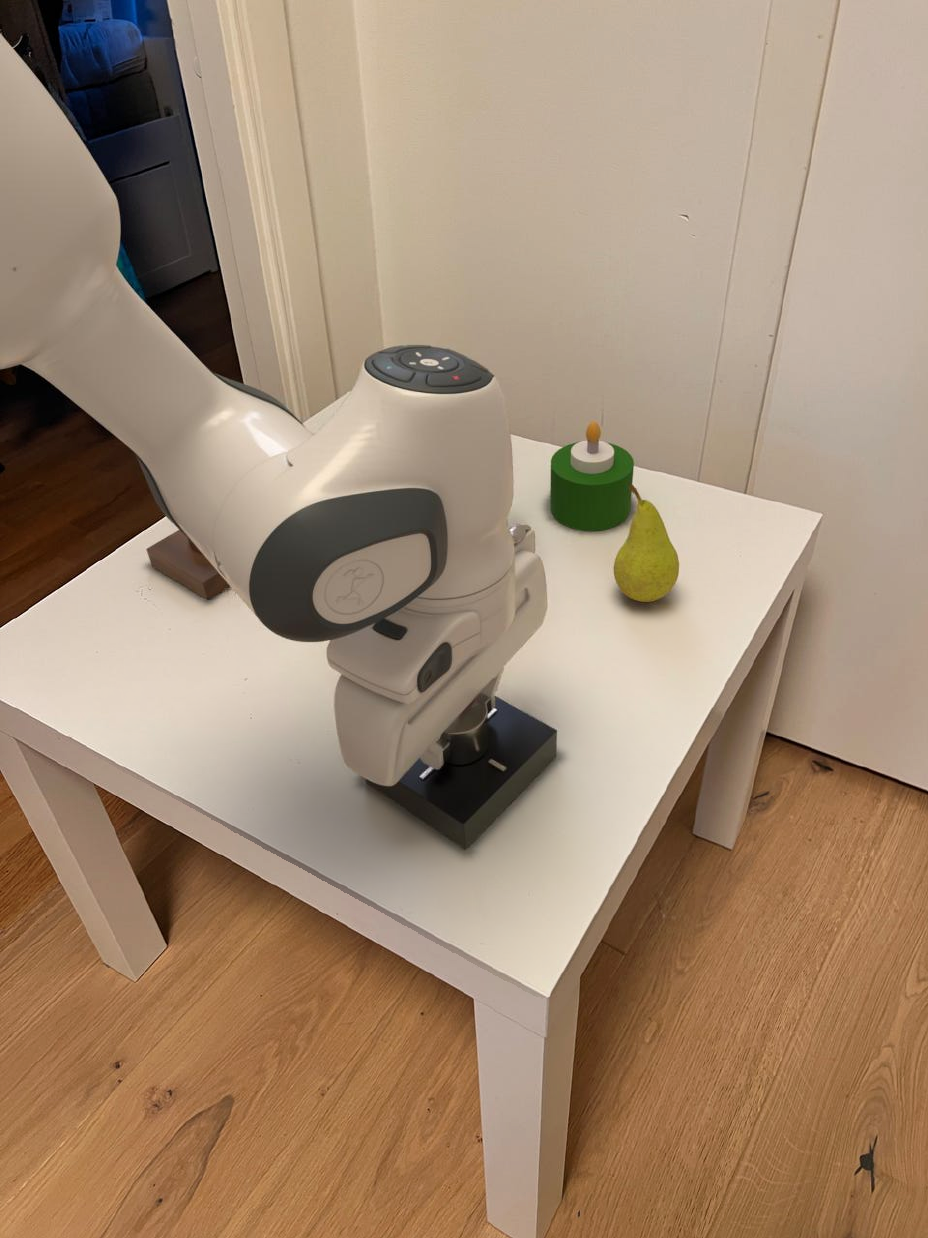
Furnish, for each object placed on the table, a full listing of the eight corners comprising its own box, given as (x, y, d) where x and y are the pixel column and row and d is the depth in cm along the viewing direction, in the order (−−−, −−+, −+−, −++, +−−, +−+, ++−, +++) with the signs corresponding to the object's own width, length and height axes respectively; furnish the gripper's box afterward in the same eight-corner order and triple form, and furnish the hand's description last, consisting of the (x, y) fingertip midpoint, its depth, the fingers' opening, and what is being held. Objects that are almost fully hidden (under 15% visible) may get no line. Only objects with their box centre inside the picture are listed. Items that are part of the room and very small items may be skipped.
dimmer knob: (466, 774, 68) (464, 739, 65) (418, 749, 70) (414, 714, 67) (500, 736, 71) (499, 701, 68) (453, 713, 73) (450, 678, 70)
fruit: (687, 604, 85) (703, 493, 78) (631, 623, 84) (641, 512, 76) (653, 569, 90) (665, 461, 82) (599, 587, 88) (606, 477, 80)
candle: (586, 541, 93) (590, 453, 87) (534, 505, 99) (533, 420, 92) (647, 510, 97) (655, 424, 90) (593, 477, 102) (596, 393, 96)
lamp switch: (207, 600, 89) (198, 567, 87) (151, 566, 94) (140, 533, 91) (301, 540, 96) (294, 507, 93) (244, 510, 101) (236, 479, 98)
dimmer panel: (465, 850, 67) (463, 823, 65) (365, 782, 72) (360, 755, 70) (556, 756, 73) (557, 728, 71) (458, 699, 78) (456, 672, 76)
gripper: (494, 499, 68) (499, 639, 77) (306, 664, 56) (338, 809, 65) (570, 524, 65) (566, 667, 74) (389, 705, 53) (410, 850, 62)
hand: (458, 735), depth 70 cm, fingers closed on dimmer knob, 4 cm apart
